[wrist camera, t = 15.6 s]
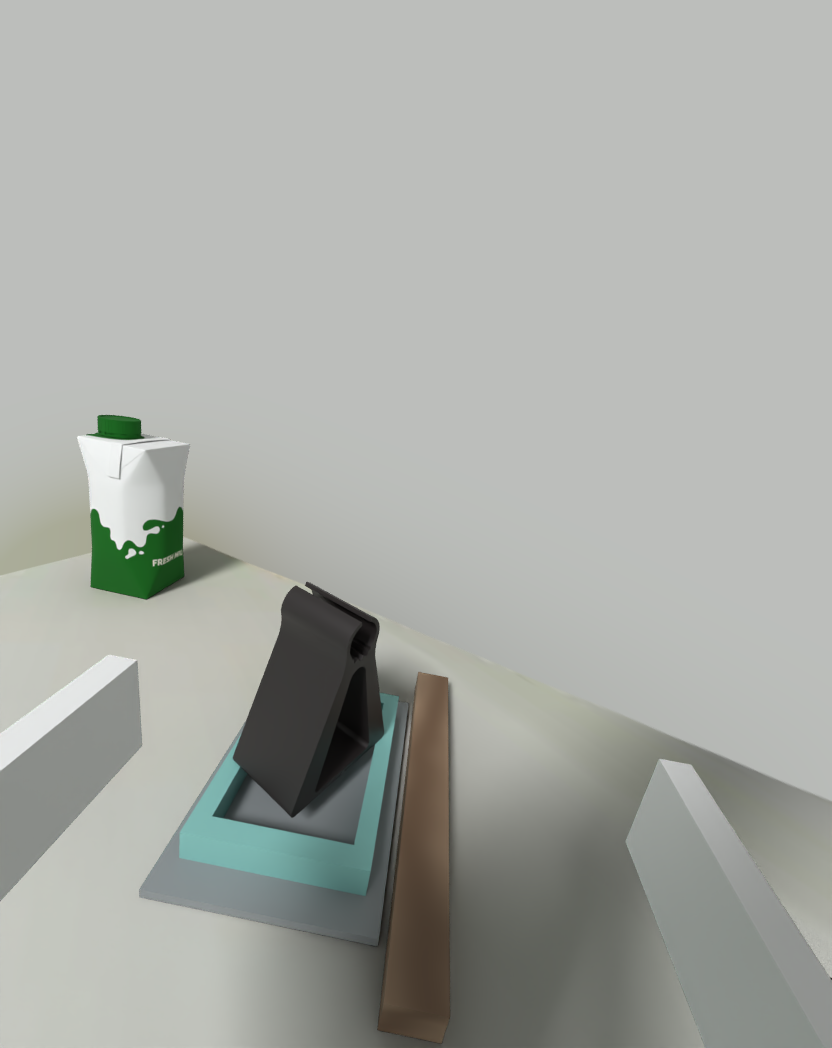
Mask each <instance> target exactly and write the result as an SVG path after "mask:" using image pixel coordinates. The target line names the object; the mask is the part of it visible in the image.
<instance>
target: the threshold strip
mask: <svg viewBox="0 0 832 1048" xmlns="http://www.w3.org/2000/svg"><path fill="white" fill-rule="evenodd" d="M449 1019H450V947H449V768H448V678H447V677H442V676H437V675H431V674H426V673H421V672H418V677H417V682H416V687H415V694H414V703H413V712H412V721H411V730H410V739H409V748H408V757H407V767H406V776H405V785H404V794H403V803H402V812H401V821H400V830H399V839H398V848H397V857H396V866H395V875H394V884H393V893H392V902H391V912H390V921H389V930H388V939H387V948H386V957H385V966H384V975H383V984H382V993H381V1002H380V1011H379V1020H378V1029H377V1030H379V1031H384V1032H389V1033H394V1034H398V1035H403V1036H408V1037H412V1038H417V1039H422V1040H427V1041H431V1042H436V1043H442V1040H443V1037H444V1034H445V1031H446V1028H447V1025H448V1022H449Z"/></svg>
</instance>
